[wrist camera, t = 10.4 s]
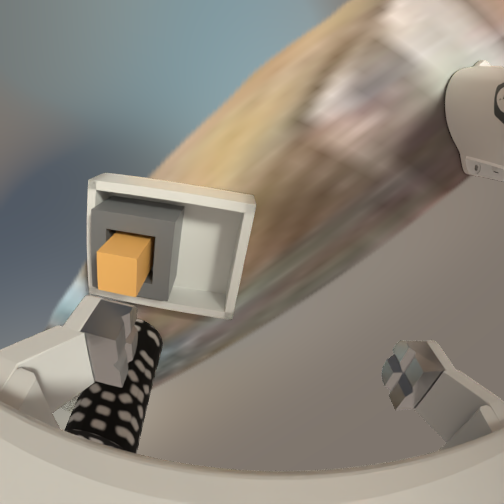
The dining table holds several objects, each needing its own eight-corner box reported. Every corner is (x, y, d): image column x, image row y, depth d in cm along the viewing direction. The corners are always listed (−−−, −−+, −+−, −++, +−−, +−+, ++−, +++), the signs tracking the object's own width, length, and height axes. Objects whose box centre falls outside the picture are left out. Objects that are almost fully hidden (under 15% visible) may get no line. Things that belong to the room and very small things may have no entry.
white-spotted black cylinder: (166, 326, 41) (135, 446, 22) (158, 365, 44) (134, 474, 25) (112, 310, 39) (57, 419, 21) (109, 350, 42) (68, 452, 24)
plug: (155, 232, 31) (137, 259, 25) (152, 265, 33) (136, 297, 27) (121, 226, 31) (96, 251, 25) (120, 259, 32) (98, 289, 26)
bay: (253, 195, 34) (258, 210, 28) (232, 299, 39) (232, 330, 33) (105, 172, 32) (80, 183, 26) (102, 276, 37) (82, 301, 31)
